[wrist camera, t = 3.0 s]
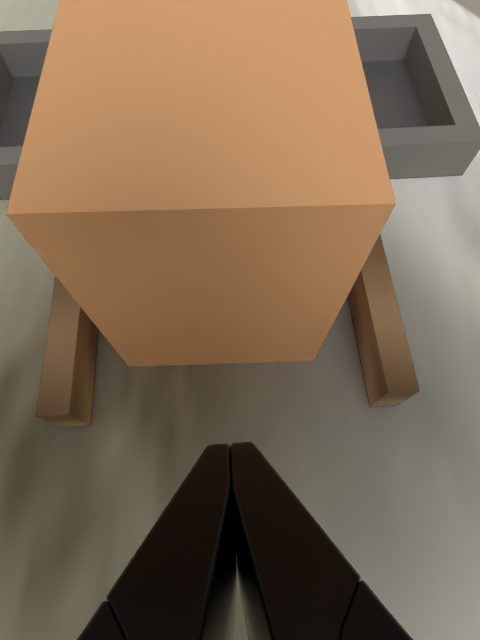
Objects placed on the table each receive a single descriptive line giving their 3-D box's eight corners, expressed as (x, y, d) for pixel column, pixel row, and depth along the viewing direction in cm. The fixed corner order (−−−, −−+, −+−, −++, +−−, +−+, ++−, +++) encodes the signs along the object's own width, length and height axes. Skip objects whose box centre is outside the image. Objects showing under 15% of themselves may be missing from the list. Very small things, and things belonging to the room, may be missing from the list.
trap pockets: (462, 175, 19) (485, 140, 17) (-35, 201, 19) (-65, 168, 17) (415, 52, 23) (430, 13, 21) (0, 71, 22) (-22, 32, 20)
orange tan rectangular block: (313, 361, 16) (395, 204, 7) (129, 367, 15) (5, 214, 7) (283, 94, 22) (309, -154, 14) (151, 96, 22) (98, -152, 13)
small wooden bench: (397, 404, 15) (449, 371, 11) (61, 427, 14) (1, 401, 11) (301, -20, 26) (311, -105, 22) (110, -12, 25) (88, -98, 22)
